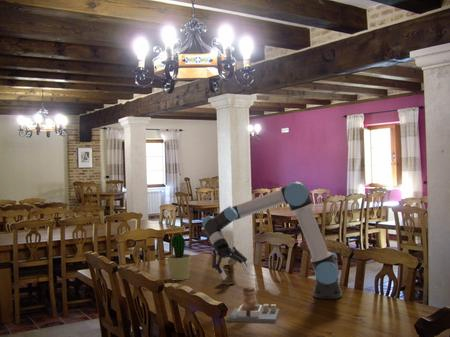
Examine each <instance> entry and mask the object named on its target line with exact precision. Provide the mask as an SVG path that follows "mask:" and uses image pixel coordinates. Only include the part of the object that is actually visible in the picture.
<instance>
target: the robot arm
mask: <svg viewBox="0 0 450 337" xmlns="http://www.w3.org/2000/svg"><path fill="white" fill-rule="evenodd" d="M281 205H288V207H289V209H290V211H291V212H292V213H294V214H295V217H296V218H297V221H298V224H299V226H300V229H301V232H302V234H303V237H304V240H305V241H306V244H307V247H308V250H309V252H310V255H311V259H310V263H311V266H312V269H313V271H314V276H315V283H314V287H313V290H312V295H313V297H315V299H319V300H320V299H321V300H336V299H340V298H341V297H342V296H343V295H342V294H343V292H342V289H341V286H340V283H339V275H340V270H339V267H338V256H337V253H335V252H331V251H329V250H328V248H327V245H326V242H325V240H324V237H323V235H322V232H321V230H320V228H319V224H318V222H317V220H316V217H315V214H314V211H313V208H312V205H313V200H312V198H311V196H310V193H309V190H308V186H307V185H306V184H305V183H303V182H302V181H299V180H296V181H292V182H290V183H288V184H287V185H284V186H282V187H280V188H279V190H276V191H274V192H271V193H268V194H266V195H263V196H260V197H256V198H253V199H251V200H247V201H245V202H243V203H240V204H237V205H234V206H230V205H229V206H227V207H226V208H225V209H223V210H222V211H220V212H219V213H218V214H217V215H215V216H207V217H205V218H204V219H203V220H202V222H201V224H202V227H203V230H204V232H205V234H206V235H207V237H208V239H209V241H210V244H211V245H212V247H213V249H212V251H211V256H212V259H211V267H212V269H215V270H216V271H217V272H218V274H220V276H221V279H222V278H223V280H225V279H226V277H227V276H226V274H225V272H224V270H223V265H221V261H222V258H223V259H227V258H229V259H230V258H232V259H234V260H236V261H237V262H238V264H240V267H241V269H242V270H243V273H244V274H245V276H249V273H250V270H249V269H248V264H247V261H248V258H247V257H245V255H244V254H243V253H241V252H240V251H239V250H238V249H237V248H236V247H235V246H233V247H231V248H230V247H229V243H228V241H227V239H226V237H225V235H224V234H223V232H222V230H223V229H224V228H225V227H227V226H229V225H230V224H231V223H232V222H234V221H237V220H240V219H241V218H245V217H248V216H251V215H254V214H258V213H261V212H263V211H265V210H270V209H272V208H276V207H279V206H281ZM217 256H218V260H217ZM237 262H236V263H237Z"/></svg>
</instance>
